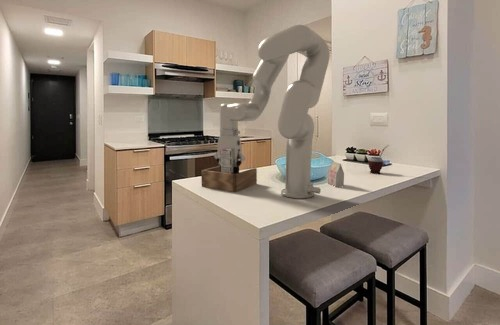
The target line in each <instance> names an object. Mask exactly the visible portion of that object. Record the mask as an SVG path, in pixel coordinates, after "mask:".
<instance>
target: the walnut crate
mask: <svg viewBox="0 0 500 325" xmlns="http://www.w3.org/2000/svg"><path fill="white" fill-rule="evenodd" d="M200 171H201V172H200V173H201V174H200V175H201V187H202V188H209V189H215V190H221V191H226V192H230V193H231V192H233V193H237V192H240V191H242V190H245V189H247V188H250V187H253V186H256V185H257V182H258V181H257V180H258V179H257V178H258V175H257V173H258V168H256V167H254V168H251V169H247V170H243V171H239V173H236V174H230V173H222V172H220V165H217V166H214V167H210V168H205V169H202V170H200Z"/></svg>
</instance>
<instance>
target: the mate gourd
mask: <svg viewBox="0 0 500 325" xmlns="http://www.w3.org/2000/svg"><path fill="white" fill-rule="evenodd" d="M389 146H390V144H388V145H386V146H385V147H383V148H382V150H381V152H380V155H379V157H376V156H371V157H370V158H369V160H368V168H369V169H370V171H369V173H370V174H371V173H373V174H376V173H378V174H377V175H380V174H381V170H382V168H383V166H384V160H383V158H381V157H382V155H383V153H384V151H385V149H386V148H388V147H389Z"/></svg>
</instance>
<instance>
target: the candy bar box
mask: <svg viewBox="0 0 500 325" xmlns="http://www.w3.org/2000/svg"><path fill="white" fill-rule="evenodd" d="M220 163H221V172H222V173H230V174H233V167H235V166H234V163H233V151H232V149H221V150H220Z"/></svg>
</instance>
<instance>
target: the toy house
mask: <svg viewBox="0 0 500 325" xmlns="http://www.w3.org/2000/svg"><path fill="white" fill-rule="evenodd" d="M330 164H331V165H330V167H329V168H328V171H327V172H328V173H327V174H328V175H327V176H328V177H327V178H328V179H327V184H328V185H330V186H332V185H333V186H332V187H334V186H335V187H334V188H341V187H340V186H343V187H344V183H345V172H344V169H343V166H342V164H341V163H339V162H336V161H331V163H330Z"/></svg>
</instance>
